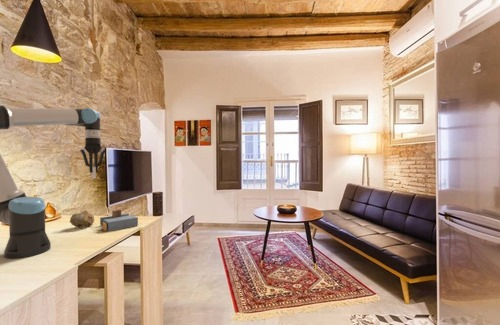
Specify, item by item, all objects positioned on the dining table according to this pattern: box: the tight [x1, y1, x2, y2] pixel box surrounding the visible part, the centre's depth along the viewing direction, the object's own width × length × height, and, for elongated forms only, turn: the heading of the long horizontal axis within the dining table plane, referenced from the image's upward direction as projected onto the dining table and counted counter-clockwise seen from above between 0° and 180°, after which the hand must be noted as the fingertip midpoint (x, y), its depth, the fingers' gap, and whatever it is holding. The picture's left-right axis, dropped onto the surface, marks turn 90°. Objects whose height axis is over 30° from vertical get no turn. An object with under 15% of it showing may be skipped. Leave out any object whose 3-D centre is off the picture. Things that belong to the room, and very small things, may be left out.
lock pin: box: [101, 222, 108, 232], centre depth 146 cm, size 14×4×4 cm, turn 134°
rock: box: [69, 209, 95, 228], centre depth 150 cm, size 12×10×10 cm
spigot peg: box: [111, 208, 122, 218], centre depth 154 cm, size 4×4×9 cm
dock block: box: [99, 213, 139, 232], centre depth 151 cm, size 16×17×5 cm
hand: (93, 178), depth 145 cm, fingers closed
